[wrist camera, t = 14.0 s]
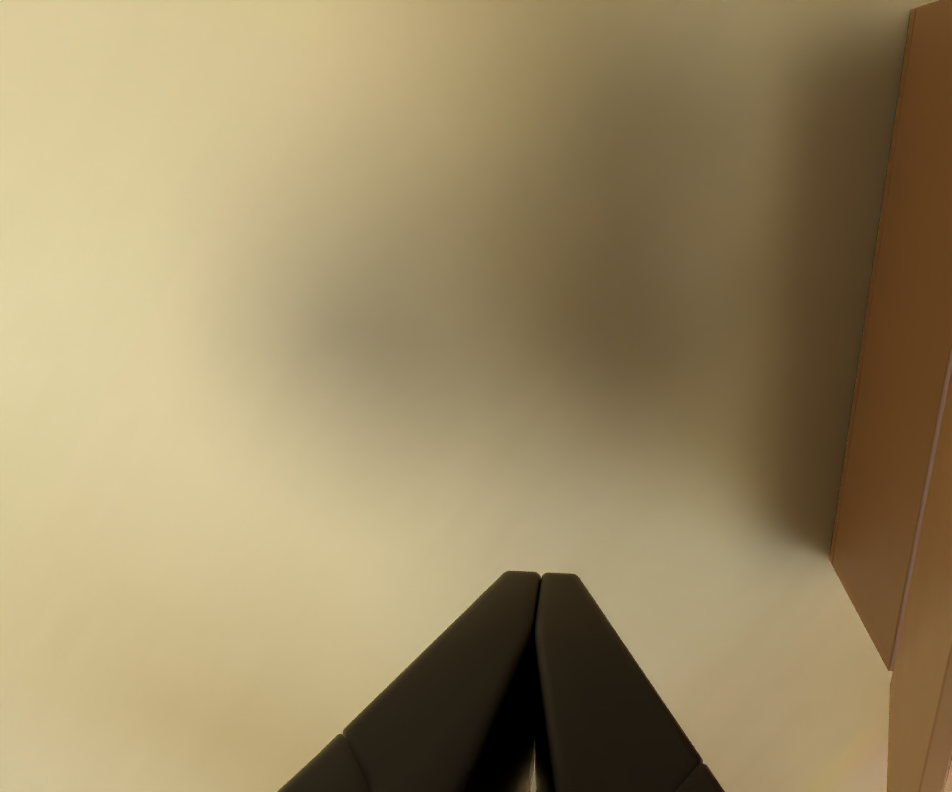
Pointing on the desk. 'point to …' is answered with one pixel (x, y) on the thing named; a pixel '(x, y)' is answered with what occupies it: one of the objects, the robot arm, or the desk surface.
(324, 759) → the robot arm
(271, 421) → the desk surface
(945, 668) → the flap
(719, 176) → the desk surface
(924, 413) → the carton
